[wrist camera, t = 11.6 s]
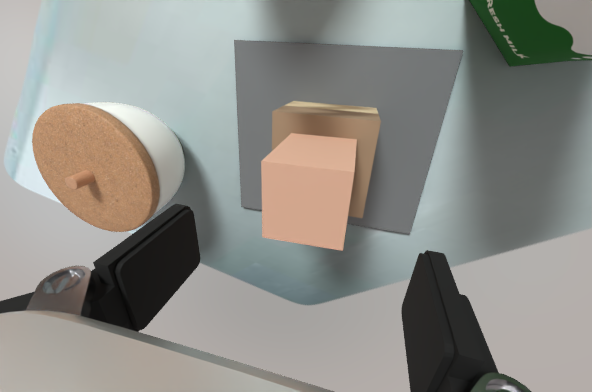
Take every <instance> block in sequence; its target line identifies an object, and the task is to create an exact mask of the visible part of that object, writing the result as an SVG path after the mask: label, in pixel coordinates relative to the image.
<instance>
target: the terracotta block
mask: <svg viewBox="0 0 592 392" xmlns="http://www.w3.org/2000/svg"><path fill="white" fill-rule="evenodd" d="M356 145H357V139H348V138H337V137H327V136H316V135H305V134H295V133H291V134H290V135H289V136H288V137H287V138H286V139H285V140H283V141H282V142H281V143H280V144H279V145H278V146H277V147H276V148H275V149H274V150H273V151H272V152H271V153H270V154H268V155H267V156H266V157H265V158H264V159H263V160H262V161H261V177H262V237H264V238H270V239H276V240H282V241H288V242H294V243H300V244H305V245H311V246H317V247H323V248H329V249H335V250H341V251H343V246H344V239H345V232H346V226H347V219H348V212H349V205H350V199H351V192H352V185H353V178H354V171H355V158H356Z"/></svg>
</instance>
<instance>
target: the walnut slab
mask: <svg viewBox="0 0 592 392" xmlns="http://www.w3.org/2000/svg"><path fill="white" fill-rule="evenodd" d="M380 123H381V120H380V117H379V114H377V113H365V112H354V111H342V110H331V109H320V108H308V107H297V106H285V105H284V106H282V107H280V108H278V109H276V110H274V111H272V151H273V150H274V149H275V148H276V147H277V146H278V145H279V144H280V143H281V142H282V141H283V140H285V139H286V138H287V137H288V136H289V135H290V134H291V133H295V134H305V135H316V136H327V137H337V138H348V139H357V145H356V158H355V171H354V178H353V185H352V192H351V199H350V205H349V212H348V216H352V217H358V218H363V213H364V207H365V202H366V197H367V192H368V186H369V181H370V176H371V171H372V165H373V160H374V155H375V150H376V144H377V139H378V134H379V129H380Z"/></svg>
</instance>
